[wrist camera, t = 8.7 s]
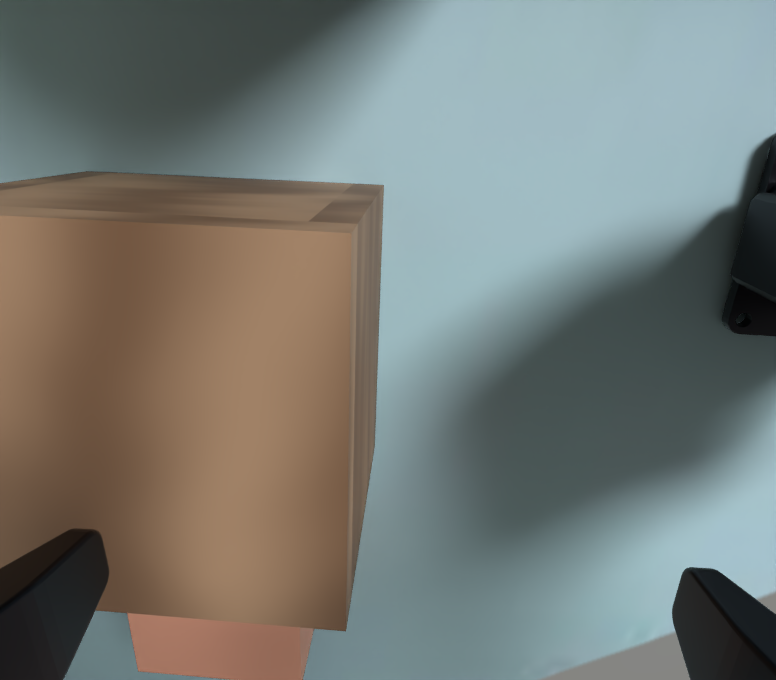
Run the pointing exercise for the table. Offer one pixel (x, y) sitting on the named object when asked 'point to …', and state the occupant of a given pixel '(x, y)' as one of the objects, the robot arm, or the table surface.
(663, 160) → the table surface
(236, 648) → the tethered block
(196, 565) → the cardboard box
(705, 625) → the robot arm
